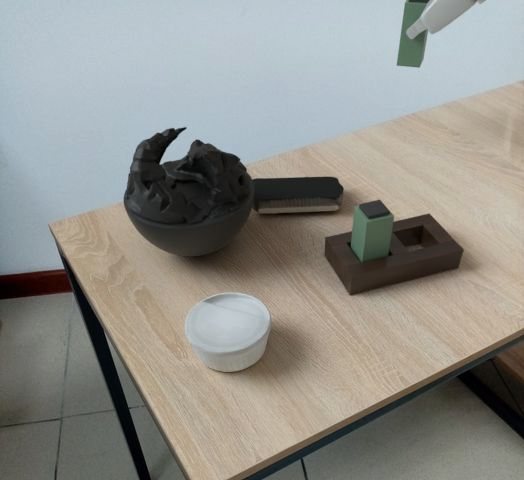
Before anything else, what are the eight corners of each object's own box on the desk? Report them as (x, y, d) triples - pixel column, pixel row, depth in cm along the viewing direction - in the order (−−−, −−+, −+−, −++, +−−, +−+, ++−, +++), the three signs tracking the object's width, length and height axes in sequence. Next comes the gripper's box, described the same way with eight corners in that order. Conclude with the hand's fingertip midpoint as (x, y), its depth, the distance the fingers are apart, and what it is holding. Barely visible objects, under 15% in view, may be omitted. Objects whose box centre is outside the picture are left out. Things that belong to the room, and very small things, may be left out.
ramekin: (265, 313, 76) (263, 285, 72) (279, 372, 69) (278, 344, 65) (187, 325, 75) (181, 297, 71) (193, 385, 68) (187, 358, 64)
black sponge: (249, 219, 92) (248, 200, 89) (250, 193, 98) (249, 174, 95) (343, 216, 92) (345, 197, 89) (339, 190, 97) (340, 171, 94)
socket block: (458, 268, 81) (464, 249, 78) (349, 295, 78) (351, 277, 75) (425, 231, 87) (429, 213, 85) (324, 255, 84) (325, 237, 82)
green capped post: (423, 59, 99) (434, -8, 91) (419, 67, 96) (430, -1, 88) (400, 57, 100) (409, -9, 92) (396, 65, 97) (405, -2, 89)
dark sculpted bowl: (128, 226, 93) (97, 119, 79) (236, 200, 97) (225, 93, 83) (151, 296, 80) (120, 184, 66) (275, 263, 84) (270, 150, 70)
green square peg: (373, 256, 84) (381, 196, 76) (385, 272, 81) (395, 212, 73) (349, 262, 83) (354, 202, 75) (360, 278, 80) (367, 218, 72)
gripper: (478, -66, 90) (410, -2, 100) (465, -38, 77) (389, 33, 87) (498, -34, 92) (430, 26, 102) (489, 0, 79) (412, 64, 89)
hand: (411, 30), depth 94 cm, fingers closed on green capped post, 4 cm apart
